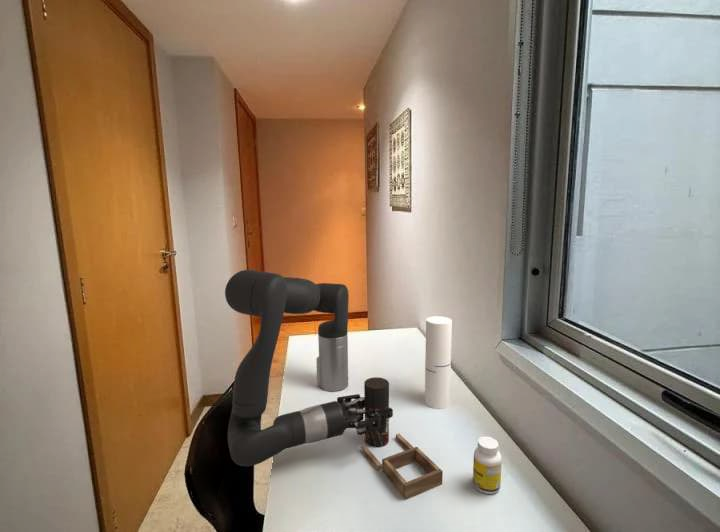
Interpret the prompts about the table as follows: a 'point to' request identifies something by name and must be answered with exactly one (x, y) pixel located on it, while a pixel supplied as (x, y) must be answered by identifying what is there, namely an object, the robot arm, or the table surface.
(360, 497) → the table surface
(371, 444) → the deodorant
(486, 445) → the supplement bottle
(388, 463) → the socket track
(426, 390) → the cylindrical container
